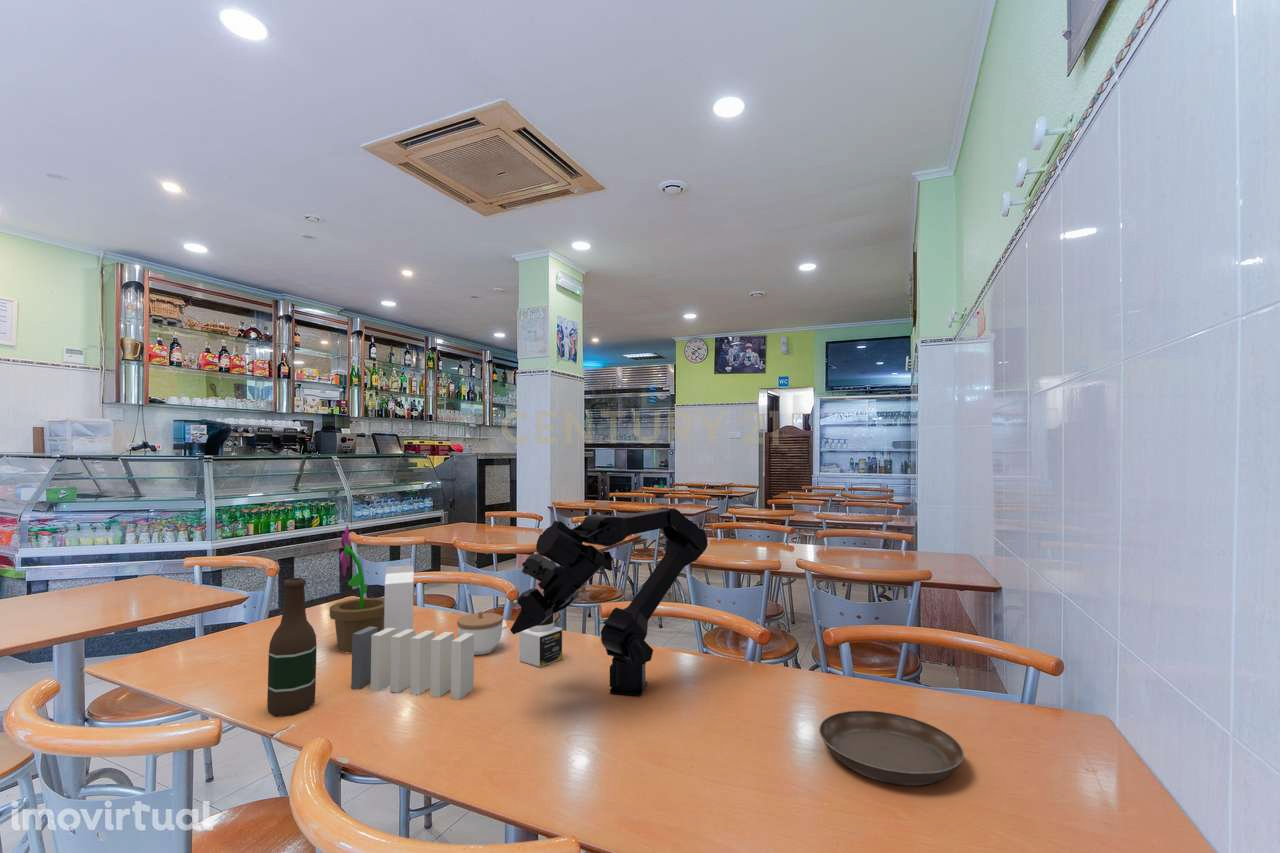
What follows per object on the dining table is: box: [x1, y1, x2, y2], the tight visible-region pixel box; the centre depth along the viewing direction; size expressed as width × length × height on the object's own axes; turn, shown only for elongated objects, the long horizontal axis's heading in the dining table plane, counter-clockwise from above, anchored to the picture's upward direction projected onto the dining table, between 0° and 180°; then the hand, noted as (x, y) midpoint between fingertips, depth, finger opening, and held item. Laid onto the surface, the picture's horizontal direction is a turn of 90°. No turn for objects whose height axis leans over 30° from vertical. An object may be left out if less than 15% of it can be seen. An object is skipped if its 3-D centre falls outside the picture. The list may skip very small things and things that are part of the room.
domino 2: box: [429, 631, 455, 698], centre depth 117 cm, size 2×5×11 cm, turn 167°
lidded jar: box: [457, 610, 504, 656], centre depth 141 cm, size 11×11×9 cm
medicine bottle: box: [518, 613, 563, 668], centre depth 135 cm, size 7×7×12 cm
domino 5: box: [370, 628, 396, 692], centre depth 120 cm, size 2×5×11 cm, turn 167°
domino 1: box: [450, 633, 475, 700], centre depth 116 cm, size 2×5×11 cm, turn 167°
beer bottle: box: [266, 577, 318, 717], centre depth 110 cm, size 8×8×24 cm
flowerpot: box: [329, 524, 385, 653], centre depth 146 cm, size 14×14×30 cm
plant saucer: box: [818, 710, 965, 786], centre depth 91 cm, size 21×21×3 cm
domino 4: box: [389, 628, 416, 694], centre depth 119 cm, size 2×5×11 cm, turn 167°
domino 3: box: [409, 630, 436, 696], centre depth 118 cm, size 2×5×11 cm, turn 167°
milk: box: [384, 565, 415, 634], centre depth 133 cm, size 6×6×22 cm
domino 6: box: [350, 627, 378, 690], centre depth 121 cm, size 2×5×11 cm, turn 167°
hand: (521, 626), depth 114 cm, fingers open, 8 cm apart
